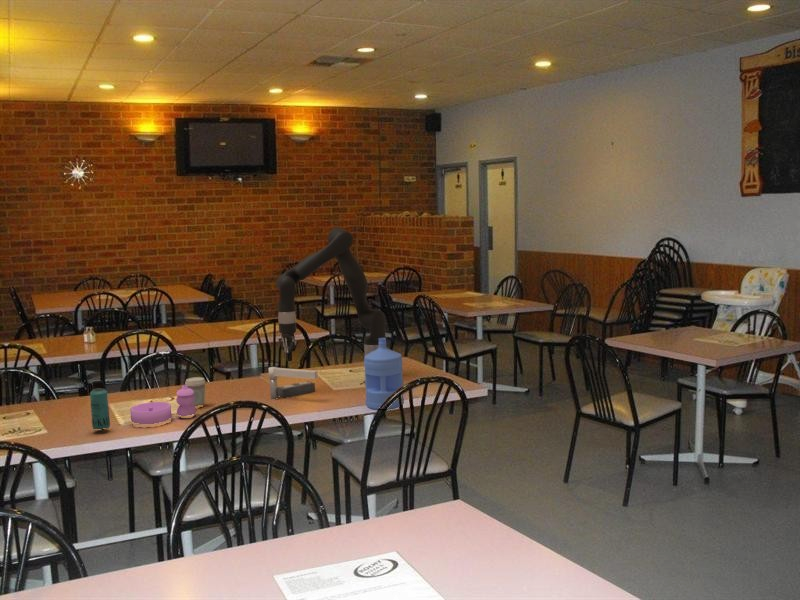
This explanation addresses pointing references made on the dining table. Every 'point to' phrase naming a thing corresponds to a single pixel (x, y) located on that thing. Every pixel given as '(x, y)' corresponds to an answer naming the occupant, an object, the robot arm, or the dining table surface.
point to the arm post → (273, 388)
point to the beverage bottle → (99, 406)
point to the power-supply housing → (296, 389)
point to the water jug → (382, 376)
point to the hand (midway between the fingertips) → (289, 360)
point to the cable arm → (292, 373)
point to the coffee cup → (197, 389)
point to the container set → (164, 408)
